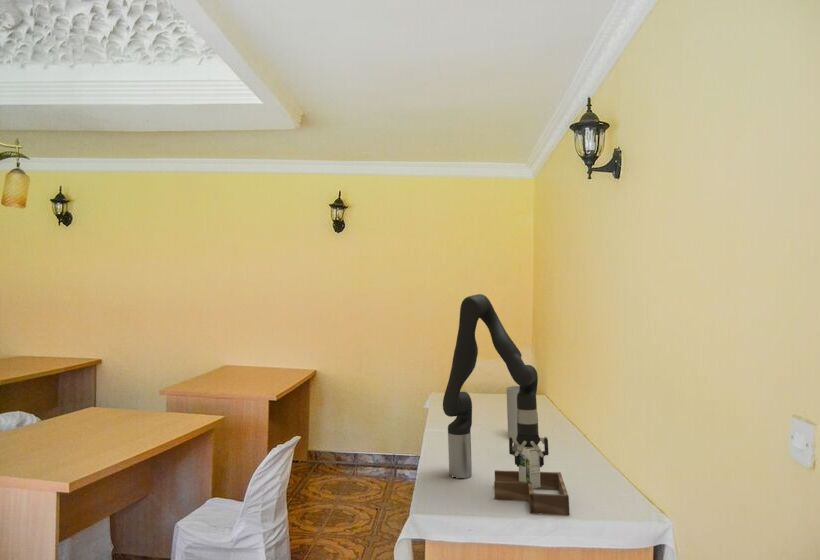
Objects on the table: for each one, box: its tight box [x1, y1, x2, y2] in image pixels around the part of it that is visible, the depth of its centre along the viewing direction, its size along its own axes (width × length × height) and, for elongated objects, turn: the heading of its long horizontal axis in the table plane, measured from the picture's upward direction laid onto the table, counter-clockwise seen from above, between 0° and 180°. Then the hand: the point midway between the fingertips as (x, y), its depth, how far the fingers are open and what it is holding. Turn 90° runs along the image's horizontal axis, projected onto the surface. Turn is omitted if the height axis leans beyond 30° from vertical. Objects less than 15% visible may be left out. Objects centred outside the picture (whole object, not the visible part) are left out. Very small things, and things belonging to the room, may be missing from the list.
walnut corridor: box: [493, 469, 570, 516], centre depth 176 cm, size 22×24×6 cm
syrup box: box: [518, 445, 541, 490], centre depth 181 cm, size 6×6×14 cm
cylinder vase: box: [505, 385, 520, 438], centre depth 253 cm, size 12×12×25 cm
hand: (529, 466), depth 181 cm, fingers closed on syrup box, 7 cm apart
